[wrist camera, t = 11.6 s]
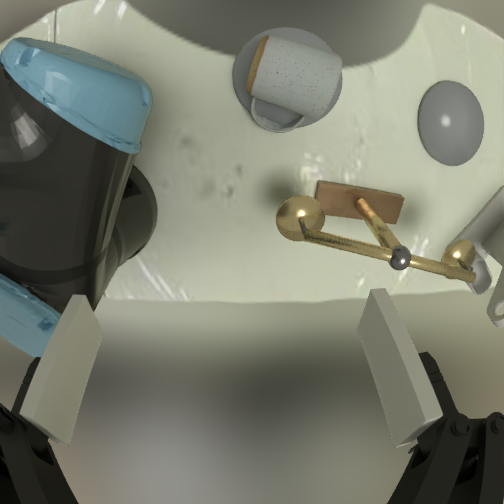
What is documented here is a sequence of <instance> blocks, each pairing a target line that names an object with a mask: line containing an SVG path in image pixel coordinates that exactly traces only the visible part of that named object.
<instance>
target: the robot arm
mask: <svg viewBox="0 0 504 504" xmlns="http://www.w3.org/2000/svg"><path fill="white" fill-rule="evenodd" d="M0 57H1V59H0V335H1V336H2V337H4V338H5V339H6V340H7V341H9V342H10V343H11V344H13V345H14V346H16V347H17V348H19V349H20V350H22V351H23V352H25V353H27V354H29V355H31V356H33V357H35V359H34V361H33V362H32V363H31V364H30V366H29V368H28V370H27V373H26V376H25V377H24V380H23V384H21V387H20V390H19V392H18V394H17V397H16V400H15V403H14V405H13V408H12V410H11V412H10V411H9V410H8V409H7V408H5V407H4V406H3V405H2V404H1V403H0V504H78V502H77V500H76V498H75V496H74V494H73V493H72V491H71V489H70V487H69V485H68V483H67V481H66V479H65V477H64V475H63V473H62V471H61V469H60V466H59V464H58V462H57V459H56V458H55V455H54V452H53V450H52V447H51V445H50V444H49V442H48V438H50V439H52V440H53V441H55V442H56V443H59V444H62V445H66V446H70V442H71V437H72V434H73V430H74V426H75V422H76V418H77V415H78V411H79V408H80V404H81V401H82V397H83V394H84V390H85V387H86V384H87V381H88V378H89V375H90V372H91V369H92V366H93V363H94V360H95V357H96V354H97V352H98V349H99V346H100V343H101V340H102V338H103V335H104V333H103V331H102V329H101V327H100V325H99V323H98V321H97V319H96V317H95V315H94V311H95V309H96V307H97V305H98V303H99V301H100V299H101V297H102V295H103V293H104V292H105V290H106V288H107V286H108V284H109V282H110V280H111V279H112V277H113V275H114V273H115V272H116V270H117V268H118V267H119V266H120V265H122V264H123V263H125V262H126V260H128V259H130V258H132V257H134V256H135V255H137V254H138V253H139V252H140V251H141V250H142V249H143V248H144V247H145V246H146V244H147V243H148V241H149V239H150V237H151V235H152V233H153V231H154V229H155V226H156V222H157V204H156V199H155V196H154V193H153V190H152V188H151V186H150V184H149V183H148V181H147V180H146V178H145V177H144V176H143V174H142V173H141V172H140V171H139V170H138V169H137V168H136V167H134V166H133V162H134V159H135V156H136V154H137V153H139V152H140V149H141V142H140V140H141V137H142V134H143V131H144V128H145V125H146V122H147V119H148V116H149V113H150V111H151V108H152V102H153V100H152V92H151V90H150V88H149V86H148V84H147V83H146V82H145V81H144V80H143V79H142V78H141V77H139V76H138V75H136V74H134V73H133V72H131V71H129V70H127V69H125V68H123V67H121V66H119V65H117V64H114V63H112V62H110V61H107V60H105V59H103V58H100V57H97V56H95V55H92V54H89V53H87V52H84V51H81V50H78V49H75V48H71V47H68V46H65V45H61V44H57V43H53V42H48V41H41V40H35V39H32V38H23V37H19V38H14V39H13V40H11V41H10V42H9V43H8V44H7V46H6V47H5V48H4V49H3V50H2V52H1V56H0ZM357 331H358V334H359V337H360V339H361V342H362V345H363V348H364V351H365V354H366V357H367V360H368V362H369V365H370V368H371V371H372V374H373V378H374V380H375V384H376V387H377V390H378V393H379V396H380V400H381V403H382V406H383V409H384V412H385V416H386V420H387V423H388V427H389V430H390V434H391V437H392V441H393V445H394V448H396V447H400V446H403V445H406V444H409V443H411V442H412V441H414V440H415V439H416V438H417V440H418V444H416V445H415V446H414V447H413V448H411V449H410V451H409V452H408V453H409V454H410V453H412V452H413V451H414V452H413V454H412V457H411V459H410V461H409V463H408V465H407V467H406V469H405V471H404V473H403V476H402V477H401V480H400V481H399V483H398V485H397V487H396V489H395V491H394V493H393V494H392V496H391V498H390V500H389V501H388V503H387V504H503V499H504V415H503V414H502V413H499V412H494V413H492V414H491V415H489V416H488V417H487V418H483V419H468V417H467V416H465V415H463V414H460V413H459V412H458V411H457V409H456V407H455V405H454V402H453V400H452V397H451V395H450V392H449V390H448V388H447V385H446V383H445V381H444V380H443V376H442V374H441V373H440V370H439V367H438V365H437V363H436V361H435V360H434V359H433V357H432V356H431V355H430V354H429V353H428V352H424V353H419V354H418V353H417V351H416V349H415V347H414V345H413V342H412V340H411V338H410V336H409V334H408V332H407V330H406V328H405V326H404V324H403V322H402V320H401V318H400V316H399V314H398V312H397V310H396V308H395V306H394V304H393V302H392V300H391V299H390V296H389V294H388V292H387V291H386V289H385V288H381V289H371V290H370V293H369V296H368V299H367V302H366V306H365V308H364V311H363V314H362V317H361V320H360V323H359V325H358V328H357Z"/></svg>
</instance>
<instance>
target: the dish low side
mask: <svg viewBox="0 0 504 504" xmlns="http://www.w3.org/2000/svg"><path fill="white" fill-rule="evenodd" d="M266 35H274V36H281V37H285V38H289V39H292V40H295V41H298V42H302V43H305V44H309V45H312V46H315V47H318V48H320V49H323V50H326V51H329V52H332V53H334V52H333V51H332V49H331V48H330V47H329V46H328V45H327V44H326V43H325V42H324V41H323V40H322V39H320V38H319V37H317V36H316V35H314V34H312V33H309V32H307V31H305V30H301V29H296V28H289V27H281V28H274V29H270V30H267V31H264V32H262V33H260V34H258V35H256V36H255V37H253V38H252V39H251V40H249V41H248V42H247V43H246V44H245V45H244V46H243V48H242V49H241V51H240V52H239V54H238V56H237V58H236V61H235V64H234V69H233V82H234V87H235V91H236V93H237V96H238V98H239V100H240V101H241V103H242V104H243V106H244V107H245V108H246V109H247V110H248V111H249V112H250V113H251V114H252V112H251V103H252V99H253V96H252V95H250V94H249V93H248V92H247V91H246V89H245V86H246V81H247V77H248V74H249V70H250V67H251V63H252V60H253V57H254V55H255V52H256V49H257V46H258V44H259V42H260V40H261V38H262V37H264V36H266ZM341 88H342V72H341V74H340V78H339V81H338V85H337V87H336V90H335V93H334V95H333V98H332V100H331V102H330V104H329V105H328V107H327V109H326V111H325V112H324V114H323V115H322V116H321V117H320V118H319V119H317V120H316V119H311V118H309V117H306V118H305V119H304V121H303V122H302V123H301V124H300V125H299V126H297V127H296V128H298V127H304V126H307V125H310V124H312V123H315V122H317V121H318V120H320V119H322V118H323V117H324V116H325V115H327V114H328V113H329V112H330V111H331V109H332V108H333V107H334V105H335V104H336V102H337V100H338V98H339V95H340V92H341ZM256 108H257V111H258V113H259V114H260V115H261V116H265V117H266V118H267V119H269V120H271V121H274V122H276V123H279V124H288V123H291V122H293V121H294V120H295V119H297V118H298V117H299V116H300V115H301V114H299V113H297V112H294V111H292V110H289V109H286V108H284V107H281V106H279V105H276V104H272V103H269V102H266V101H263V100H260V99H258V98H257V100H256Z"/></svg>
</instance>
